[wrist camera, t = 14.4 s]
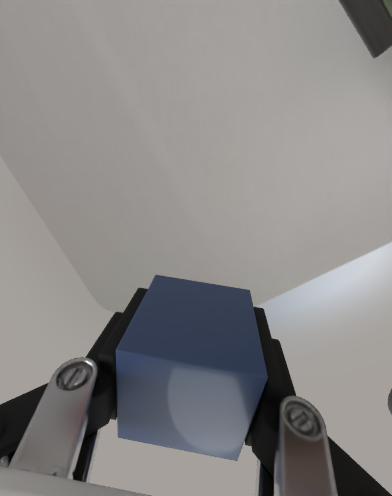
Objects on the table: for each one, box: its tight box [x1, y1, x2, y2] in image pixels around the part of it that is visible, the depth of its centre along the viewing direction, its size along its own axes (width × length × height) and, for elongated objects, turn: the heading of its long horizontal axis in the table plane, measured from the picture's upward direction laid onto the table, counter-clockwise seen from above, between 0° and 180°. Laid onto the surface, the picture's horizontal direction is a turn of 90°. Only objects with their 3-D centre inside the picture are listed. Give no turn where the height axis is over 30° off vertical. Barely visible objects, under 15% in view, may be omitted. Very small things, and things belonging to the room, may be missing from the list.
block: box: [116, 275, 268, 461], centre depth 9 cm, size 4×4×4 cm
